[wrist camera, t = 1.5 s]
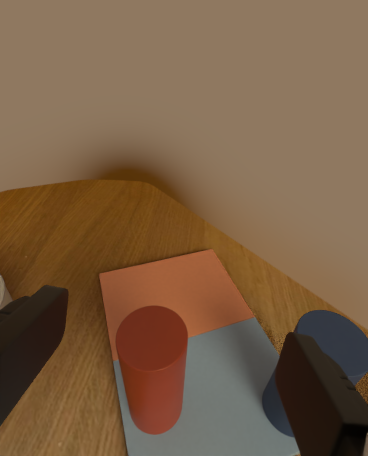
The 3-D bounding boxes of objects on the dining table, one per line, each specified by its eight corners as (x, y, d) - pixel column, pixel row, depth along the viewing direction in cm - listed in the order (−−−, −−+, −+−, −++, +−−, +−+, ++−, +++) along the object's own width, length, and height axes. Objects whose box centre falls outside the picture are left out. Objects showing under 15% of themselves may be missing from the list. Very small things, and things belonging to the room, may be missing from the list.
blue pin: (293, 373, 27) (336, 302, 21) (327, 425, 24) (391, 362, 17) (252, 389, 26) (282, 320, 19) (281, 447, 23) (331, 388, 16)
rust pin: (173, 370, 27) (175, 297, 20) (189, 422, 24) (199, 357, 17) (125, 386, 26) (110, 315, 19) (135, 444, 22) (122, 383, 16)
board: (211, 253, 42) (212, 248, 41) (326, 440, 24) (330, 436, 23) (99, 278, 37) (98, 273, 36) (140, 531, 19) (140, 530, 19)
